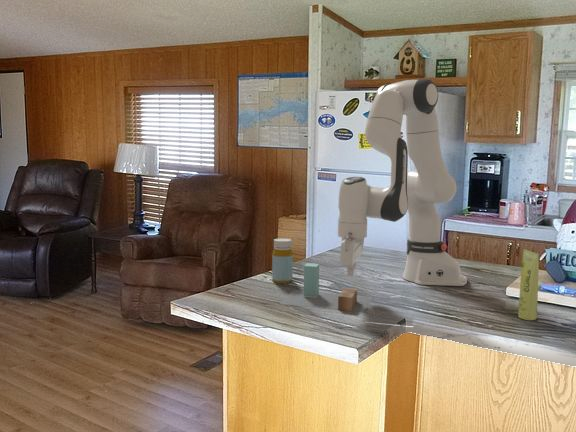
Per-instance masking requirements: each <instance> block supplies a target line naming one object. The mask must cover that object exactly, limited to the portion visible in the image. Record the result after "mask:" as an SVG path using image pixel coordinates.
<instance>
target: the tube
mask: <svg viewBox="0 0 576 432" xmlns="http://www.w3.org/2000/svg"><path fill="white" fill-rule="evenodd" d="M539 257H540V253H536V252H533V251H531V250H527V249H525V248H523V252H522V263H521V273H520V283H519V284H520V286H519V295H518V296H519V299H518V313H517V315H518V318H519V319H521V320H525V321H534V320H536V319H538V318H537V317H538V297H539V271H540V270H539V266H540V260H539Z"/></svg>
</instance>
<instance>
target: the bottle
mask: <svg viewBox="0 0 576 432" xmlns="http://www.w3.org/2000/svg"><path fill="white" fill-rule="evenodd" d="M292 243H293V241H292V238H287V237H283V238H282V237H278V238H275V239H273V250H272V255H271V256H272V258H271V259H272V263H271V264H272V265H271V266H272V269H271V270H272V272H271V274H272V275H271V276H272V278H271V279H272V282H273V283H276V284H288V283H289V284H290V283H291V282H292V281H293V266H294V265H293V260H294V254H293V249H292Z"/></svg>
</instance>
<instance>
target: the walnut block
mask: <svg viewBox="0 0 576 432" xmlns="http://www.w3.org/2000/svg"><path fill="white" fill-rule="evenodd" d="M339 294H340V295H339V296H338V310H337V311H347V310H348V311H349V312H353V311H352V309H353V307H354V306H355V304H356V302H357V296H358V288H351V287H350V288H349V287H343V289H342V291H341V292H340V293H339ZM348 311H347V312H348Z"/></svg>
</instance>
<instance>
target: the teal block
mask: <svg viewBox="0 0 576 432" xmlns="http://www.w3.org/2000/svg"><path fill="white" fill-rule="evenodd" d="M303 291H304V297H313V298H316V297H317V296H318V295H319V293H320V292H319V291H320V264H319V263H313V262H312V263H311V262H306V263H305V264H304V266H303Z"/></svg>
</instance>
